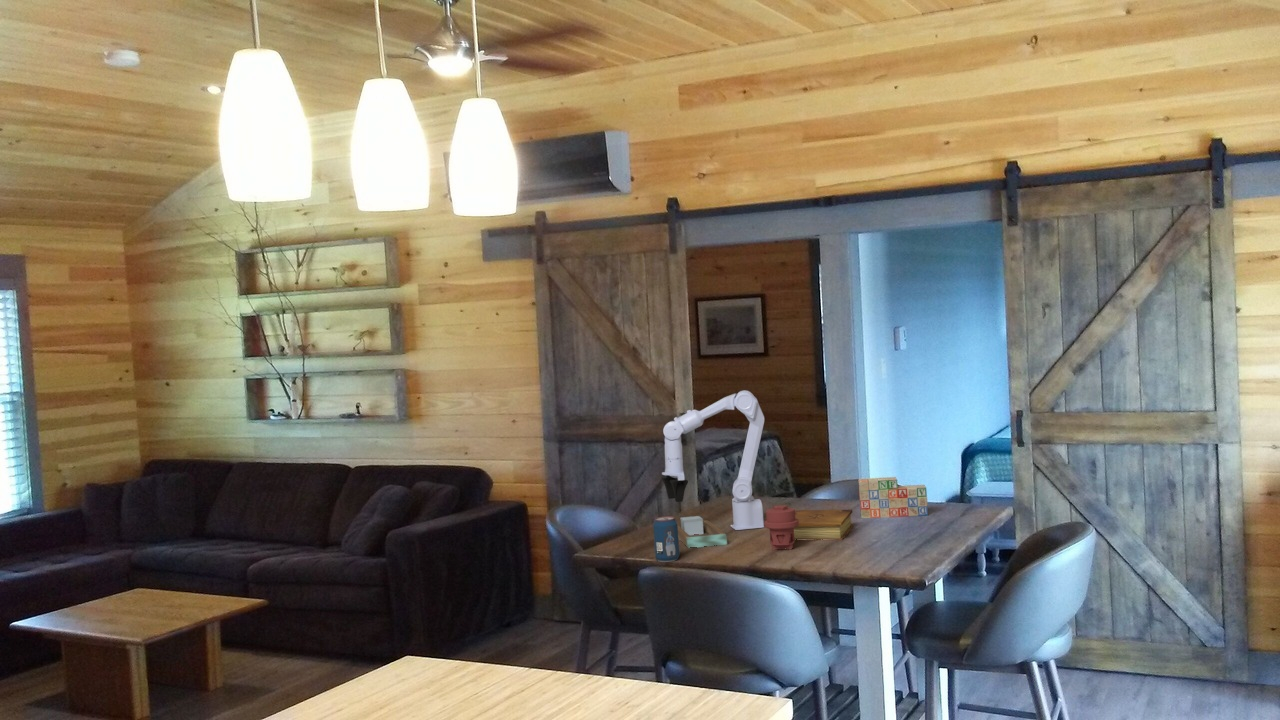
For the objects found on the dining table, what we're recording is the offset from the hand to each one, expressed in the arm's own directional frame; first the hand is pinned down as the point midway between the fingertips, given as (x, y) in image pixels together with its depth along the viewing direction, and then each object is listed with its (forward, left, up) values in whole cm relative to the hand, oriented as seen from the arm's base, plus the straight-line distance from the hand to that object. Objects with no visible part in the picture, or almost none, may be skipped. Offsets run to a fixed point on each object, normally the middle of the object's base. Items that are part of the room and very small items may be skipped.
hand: (675, 500), depth 367 cm
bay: (-4, +15, -10) cm, 19 cm away
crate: (-4, +6, -10) cm, 13 cm away
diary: (-39, +25, -11) cm, 48 cm away
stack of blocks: (-70, +9, -11) cm, 72 cm away
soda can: (+11, +43, -10) cm, 46 cm away
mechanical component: (-23, +43, -10) cm, 50 cm away
